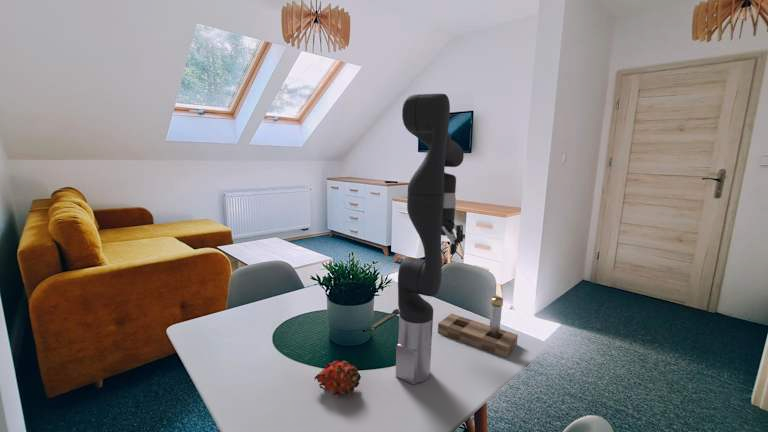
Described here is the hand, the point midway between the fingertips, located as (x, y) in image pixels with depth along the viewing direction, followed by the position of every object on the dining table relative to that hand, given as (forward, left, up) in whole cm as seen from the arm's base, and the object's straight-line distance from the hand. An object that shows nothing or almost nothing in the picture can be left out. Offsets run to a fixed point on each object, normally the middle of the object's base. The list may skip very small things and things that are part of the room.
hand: (441, 251), depth 121 cm
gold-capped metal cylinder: (+2, -20, -28) cm, 34 cm away
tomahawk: (-8, +17, -29) cm, 34 cm away
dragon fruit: (-47, +3, -28) cm, 55 cm away
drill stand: (+2, -14, -28) cm, 31 cm away
